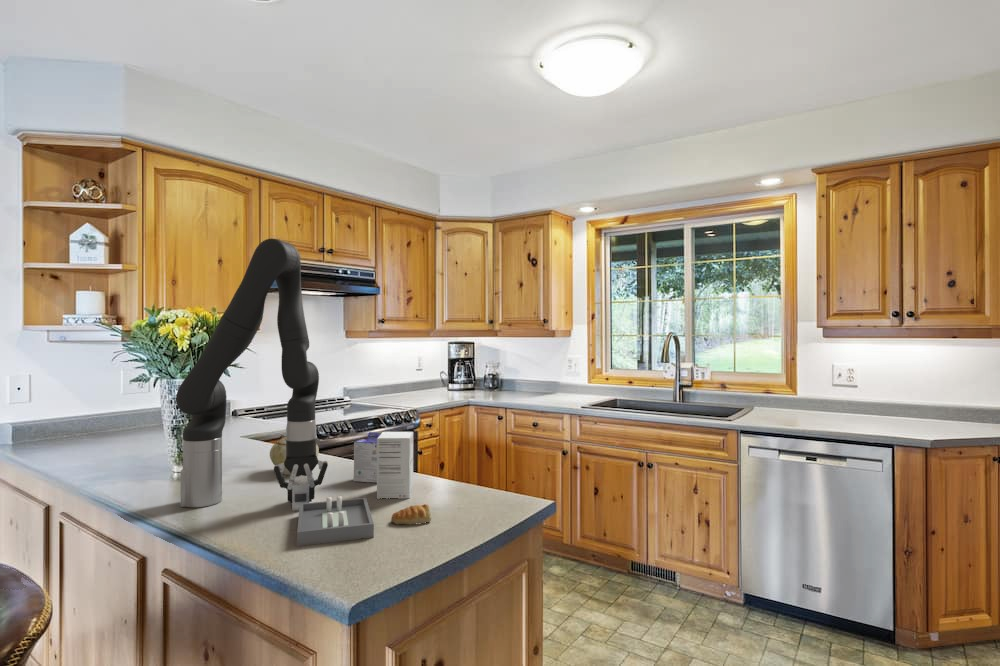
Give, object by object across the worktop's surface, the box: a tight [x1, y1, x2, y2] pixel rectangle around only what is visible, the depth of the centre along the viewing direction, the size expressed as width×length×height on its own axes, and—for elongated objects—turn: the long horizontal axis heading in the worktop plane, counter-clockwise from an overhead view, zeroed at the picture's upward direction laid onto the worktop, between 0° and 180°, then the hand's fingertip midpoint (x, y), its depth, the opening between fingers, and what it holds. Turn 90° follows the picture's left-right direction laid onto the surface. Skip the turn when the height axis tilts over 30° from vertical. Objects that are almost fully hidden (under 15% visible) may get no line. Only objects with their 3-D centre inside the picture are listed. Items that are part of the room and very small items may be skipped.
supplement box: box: [376, 431, 414, 500], centre depth 153 cm, size 10×9×17 cm
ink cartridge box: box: [353, 431, 380, 484], centre depth 166 cm, size 10×6×14 cm, turn 78°
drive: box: [291, 475, 310, 512], centre depth 143 cm, size 4×9×6 cm, turn 18°
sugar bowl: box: [269, 434, 320, 476], centre depth 176 cm, size 20×15×15 cm
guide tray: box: [296, 495, 375, 547], centre depth 128 cm, size 16×20×5 cm
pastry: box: [390, 503, 432, 526], centre depth 131 cm, size 9×7×4 cm
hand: (301, 501), depth 143 cm, fingers closed on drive, 4 cm apart
